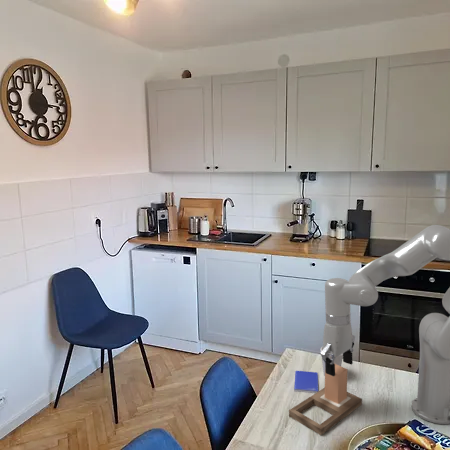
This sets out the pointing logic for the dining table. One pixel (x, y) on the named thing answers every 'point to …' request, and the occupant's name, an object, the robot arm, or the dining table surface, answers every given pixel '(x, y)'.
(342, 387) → the block
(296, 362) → the dining table surface
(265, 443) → the dining table surface
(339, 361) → the dixie cup
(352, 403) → the socket board
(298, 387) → the hard drive
